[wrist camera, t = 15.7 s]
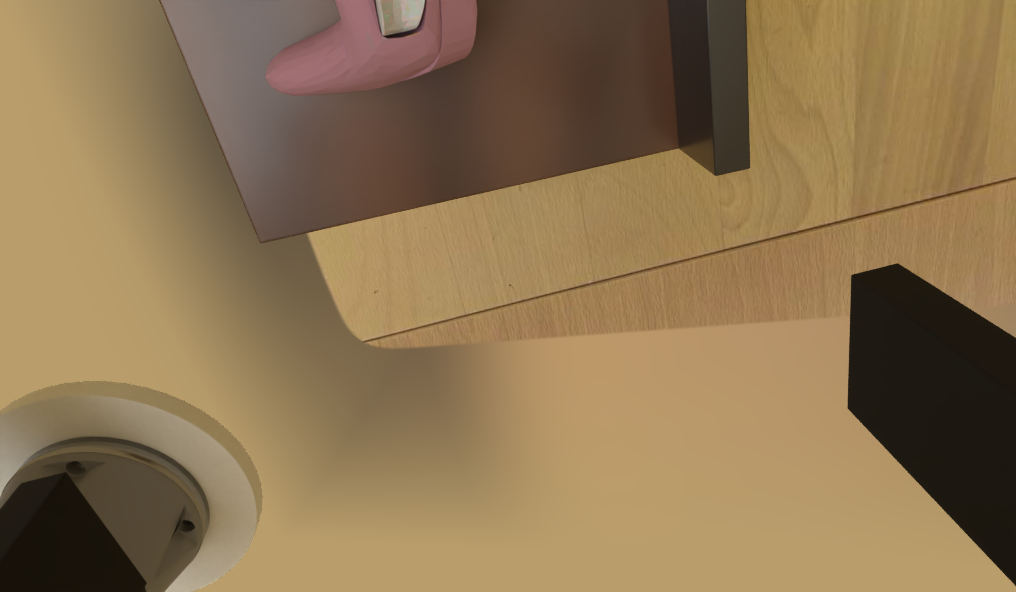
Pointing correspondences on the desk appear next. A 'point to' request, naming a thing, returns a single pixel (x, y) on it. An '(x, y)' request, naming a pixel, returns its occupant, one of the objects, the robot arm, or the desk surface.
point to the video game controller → (376, 46)
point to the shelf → (467, 103)
